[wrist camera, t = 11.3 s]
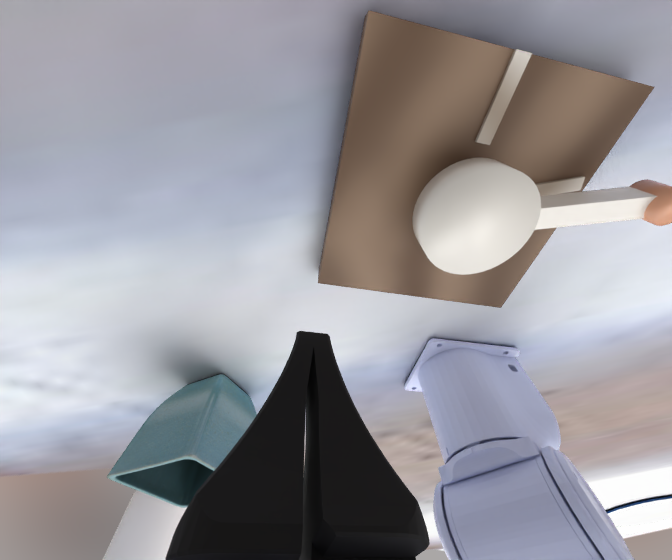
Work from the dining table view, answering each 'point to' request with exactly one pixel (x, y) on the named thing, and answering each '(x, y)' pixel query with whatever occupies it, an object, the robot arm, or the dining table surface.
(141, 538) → the mug
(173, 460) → the flower pot
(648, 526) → the plate
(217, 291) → the dining table surface
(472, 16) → the dining table surface
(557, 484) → the robot arm
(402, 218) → the strip board
